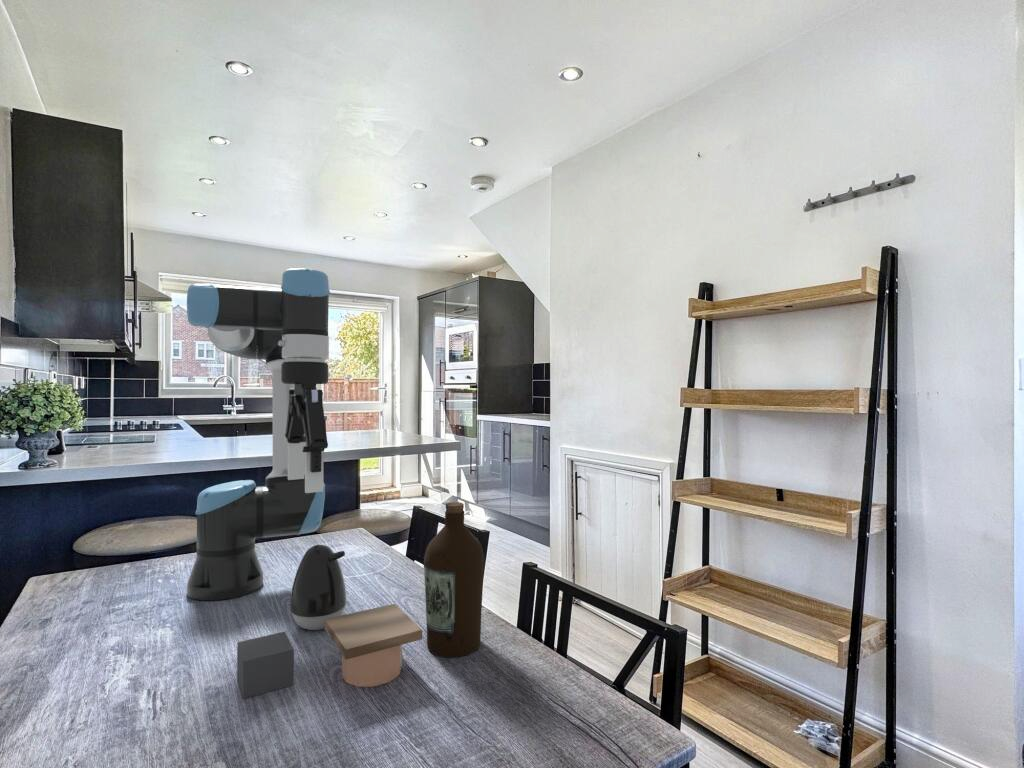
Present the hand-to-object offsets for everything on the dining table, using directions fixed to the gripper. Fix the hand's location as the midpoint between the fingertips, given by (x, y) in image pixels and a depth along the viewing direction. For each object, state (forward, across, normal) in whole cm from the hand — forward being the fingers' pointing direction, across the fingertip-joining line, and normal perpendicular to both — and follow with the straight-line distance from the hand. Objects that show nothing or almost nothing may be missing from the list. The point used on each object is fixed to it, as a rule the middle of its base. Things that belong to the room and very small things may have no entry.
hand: (304, 485), depth 94 cm
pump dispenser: (+29, -10, +5) cm, 31 cm away
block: (+29, +6, -7) cm, 30 cm away
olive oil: (+29, +11, +23) cm, 39 cm away
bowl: (+29, +12, +8) cm, 32 cm away
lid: (+23, +12, +8) cm, 27 cm away
